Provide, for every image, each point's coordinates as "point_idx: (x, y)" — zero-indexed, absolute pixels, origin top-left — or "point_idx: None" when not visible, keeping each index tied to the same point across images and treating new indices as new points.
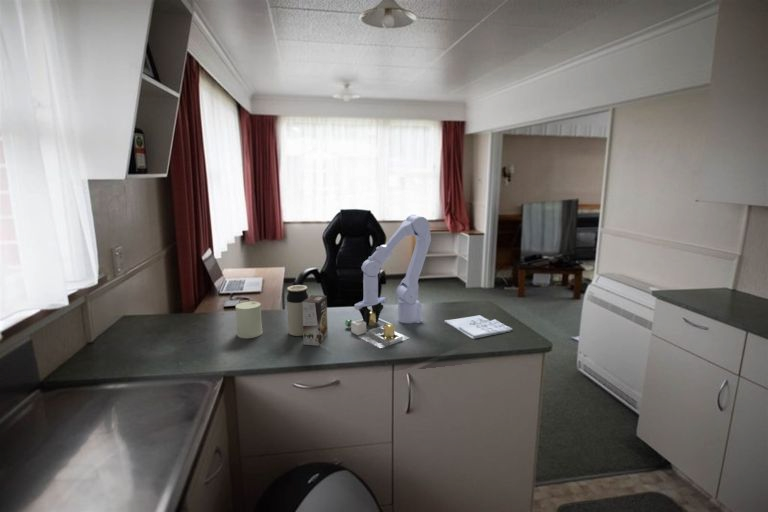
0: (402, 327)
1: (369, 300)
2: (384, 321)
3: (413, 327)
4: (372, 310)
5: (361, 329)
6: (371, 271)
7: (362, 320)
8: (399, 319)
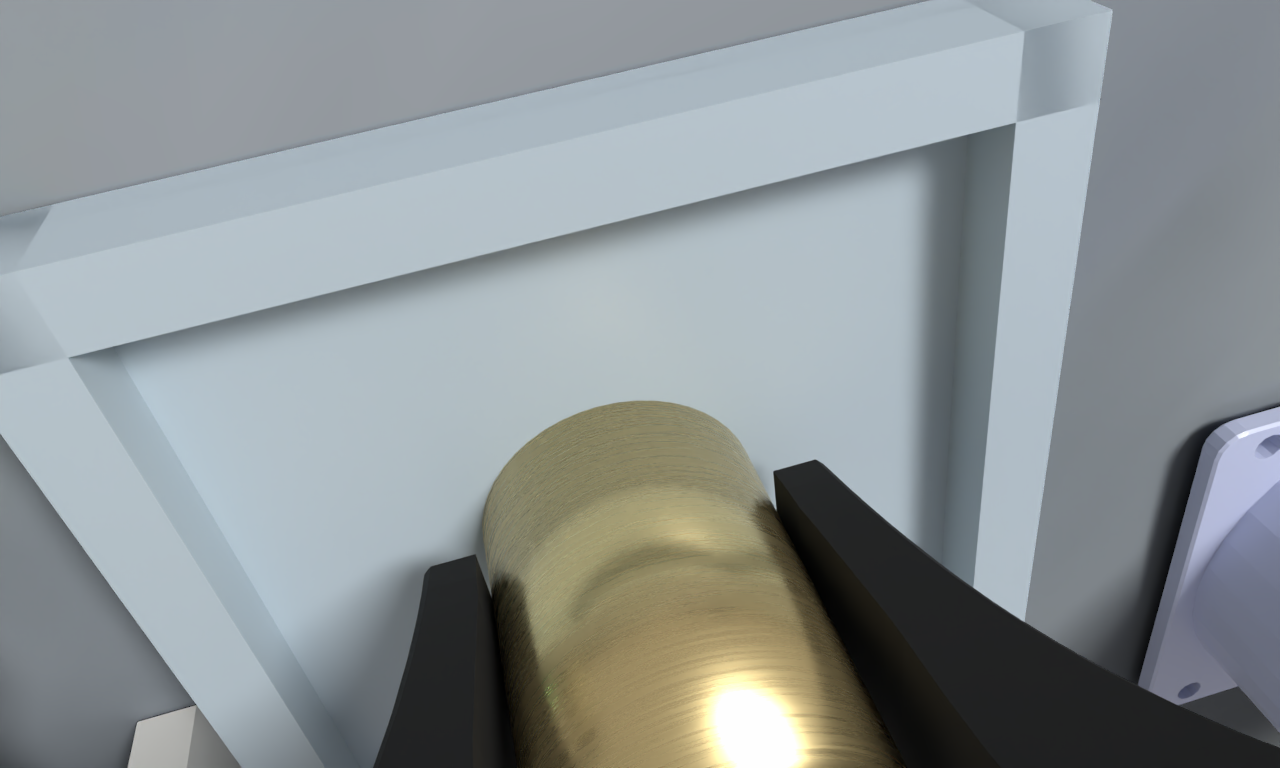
0: (1099, 665)
1: None
2: (993, 553)
3: (1214, 698)
4: (950, 703)
5: None
6: None
7: (524, 238)
8: (1265, 630)
